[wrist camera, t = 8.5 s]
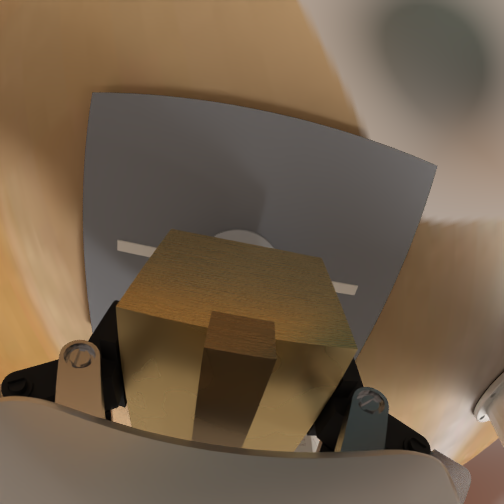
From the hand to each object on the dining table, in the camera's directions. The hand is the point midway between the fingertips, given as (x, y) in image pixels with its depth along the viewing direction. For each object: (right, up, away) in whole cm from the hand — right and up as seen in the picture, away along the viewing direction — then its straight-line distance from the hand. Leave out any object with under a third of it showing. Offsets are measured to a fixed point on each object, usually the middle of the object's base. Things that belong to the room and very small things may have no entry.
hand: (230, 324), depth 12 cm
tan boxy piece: (0, 0, +1) cm, 1 cm away
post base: (0, +2, +5) cm, 6 cm away
